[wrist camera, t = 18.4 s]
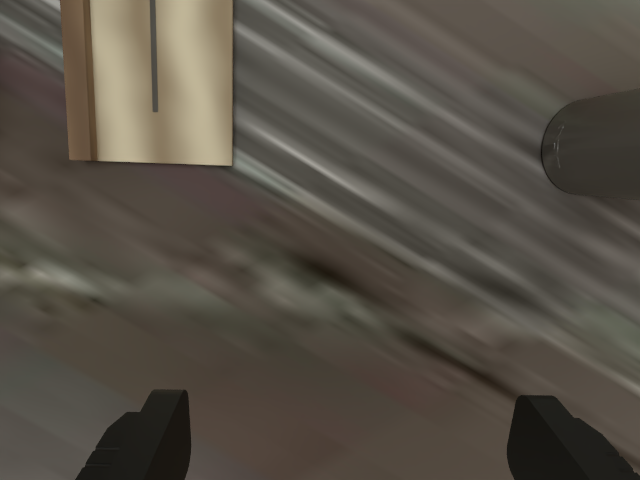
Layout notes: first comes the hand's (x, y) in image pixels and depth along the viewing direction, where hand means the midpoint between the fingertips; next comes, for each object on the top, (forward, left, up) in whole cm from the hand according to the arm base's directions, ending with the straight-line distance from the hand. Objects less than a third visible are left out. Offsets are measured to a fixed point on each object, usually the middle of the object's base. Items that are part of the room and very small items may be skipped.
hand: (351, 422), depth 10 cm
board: (+10, -21, -29) cm, 37 cm away
